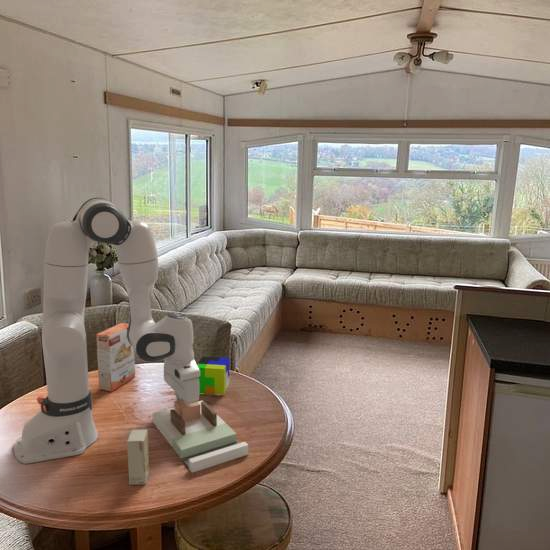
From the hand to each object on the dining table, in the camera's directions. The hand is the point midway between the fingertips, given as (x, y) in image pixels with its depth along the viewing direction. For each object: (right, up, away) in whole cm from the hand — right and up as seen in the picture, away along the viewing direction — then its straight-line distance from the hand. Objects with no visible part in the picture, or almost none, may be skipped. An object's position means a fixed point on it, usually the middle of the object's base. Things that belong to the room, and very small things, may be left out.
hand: (180, 404), depth 165 cm
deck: (+7, -7, -10) cm, 14 cm away
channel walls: (+5, -4, -8) cm, 10 cm away
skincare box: (-5, -12, -29) cm, 32 cm away
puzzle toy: (+8, 0, +22) cm, 23 cm away
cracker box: (-27, +1, +25) cm, 37 cm away
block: (+3, -3, -4) cm, 5 cm away
